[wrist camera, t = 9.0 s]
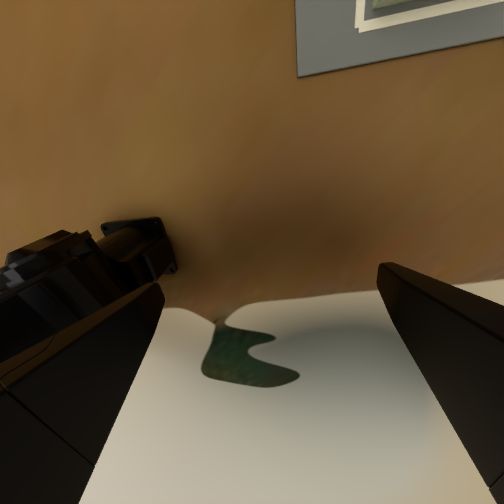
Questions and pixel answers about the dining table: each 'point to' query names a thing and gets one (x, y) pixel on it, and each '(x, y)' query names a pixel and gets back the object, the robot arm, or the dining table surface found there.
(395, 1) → the sage block
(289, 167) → the dining table surface
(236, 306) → the dining table surface
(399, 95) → the dining table surface
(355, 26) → the slate mat
